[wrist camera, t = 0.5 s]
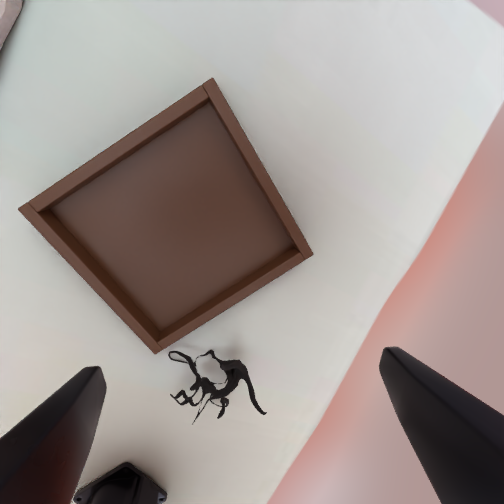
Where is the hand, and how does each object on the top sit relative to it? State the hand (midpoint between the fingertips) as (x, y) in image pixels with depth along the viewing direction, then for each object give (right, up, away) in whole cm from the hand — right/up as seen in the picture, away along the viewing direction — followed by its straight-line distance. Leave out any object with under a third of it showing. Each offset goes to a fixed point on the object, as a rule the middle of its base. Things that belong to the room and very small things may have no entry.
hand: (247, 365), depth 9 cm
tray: (-5, +5, +12) cm, 15 cm away
